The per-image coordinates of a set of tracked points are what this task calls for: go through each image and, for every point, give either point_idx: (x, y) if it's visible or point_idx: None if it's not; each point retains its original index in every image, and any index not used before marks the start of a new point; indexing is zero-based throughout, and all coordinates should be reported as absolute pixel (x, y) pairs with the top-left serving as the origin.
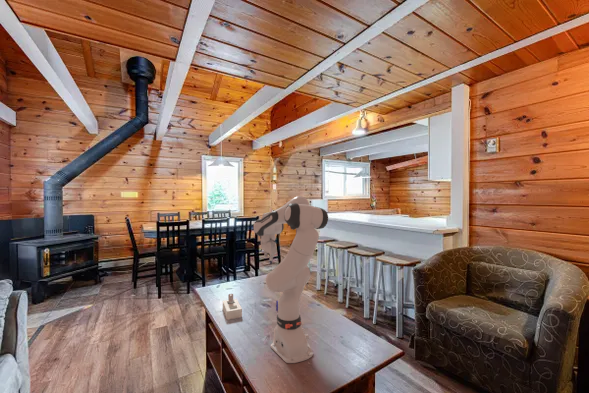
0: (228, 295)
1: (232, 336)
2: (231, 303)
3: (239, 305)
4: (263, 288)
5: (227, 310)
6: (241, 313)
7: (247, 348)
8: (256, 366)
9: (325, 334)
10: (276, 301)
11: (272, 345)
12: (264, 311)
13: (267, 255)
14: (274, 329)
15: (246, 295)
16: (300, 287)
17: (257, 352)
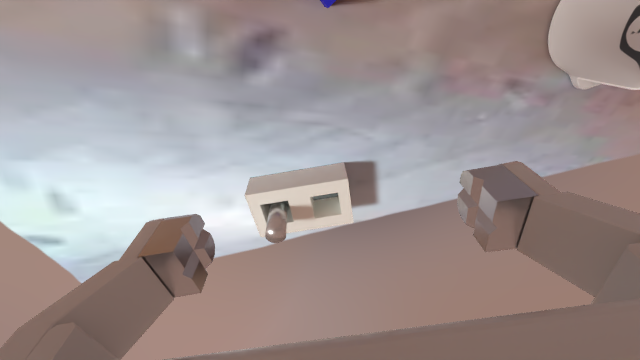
0: (278, 241)
1: (451, 189)
2: (287, 210)
3: (315, 186)
4: (7, 32)
5: (345, 221)
6: (345, 170)
7: (532, 154)
8: (619, 138)
9: None
10: (329, 6)
11: (591, 84)
12: (322, 71)
13: (185, 243)
14: (638, 89)
15: (136, 137)
16: None
17: (569, 130)
